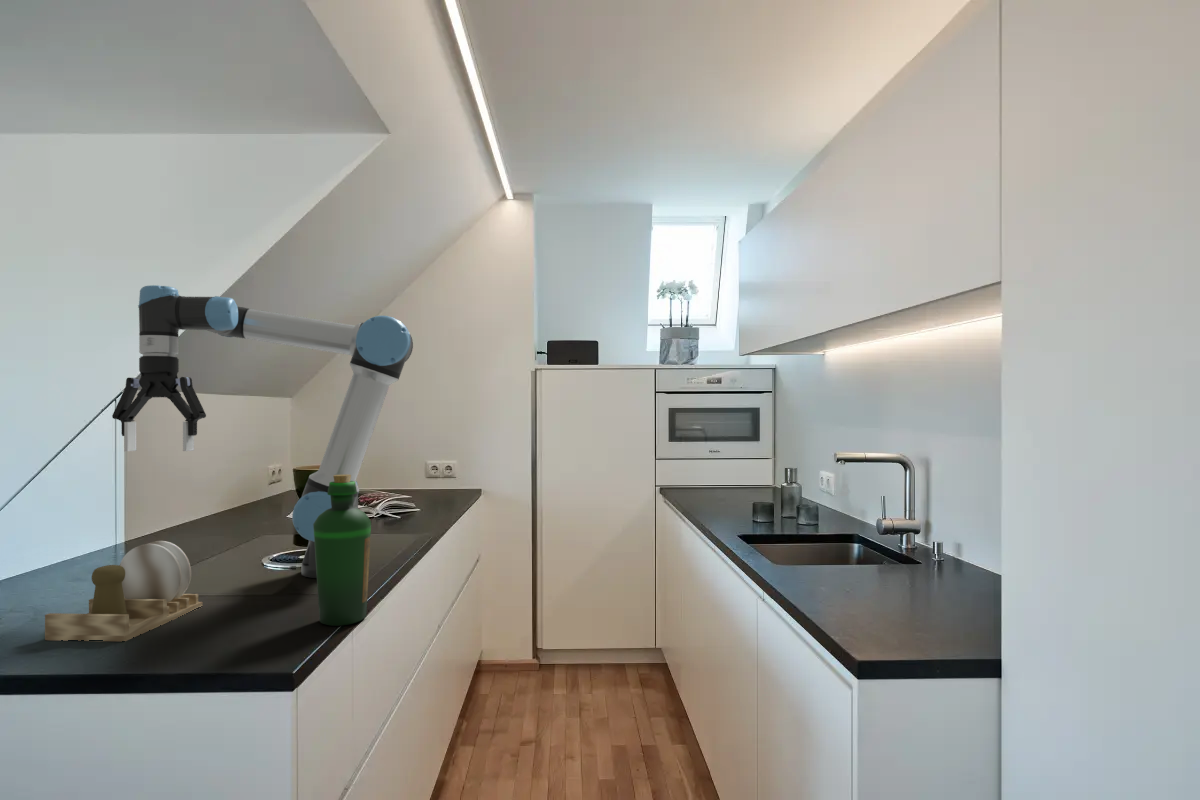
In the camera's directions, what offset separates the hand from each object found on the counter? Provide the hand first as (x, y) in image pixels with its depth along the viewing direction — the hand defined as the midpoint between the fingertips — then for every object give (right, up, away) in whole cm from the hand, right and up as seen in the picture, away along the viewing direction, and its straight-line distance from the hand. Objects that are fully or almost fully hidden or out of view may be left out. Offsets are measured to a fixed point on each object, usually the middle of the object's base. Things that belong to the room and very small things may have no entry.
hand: (159, 451), depth 160 cm
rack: (+8, -31, -22) cm, 39 cm away
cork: (+7, -31, -27) cm, 42 cm away
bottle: (+49, -31, -22) cm, 62 cm away
